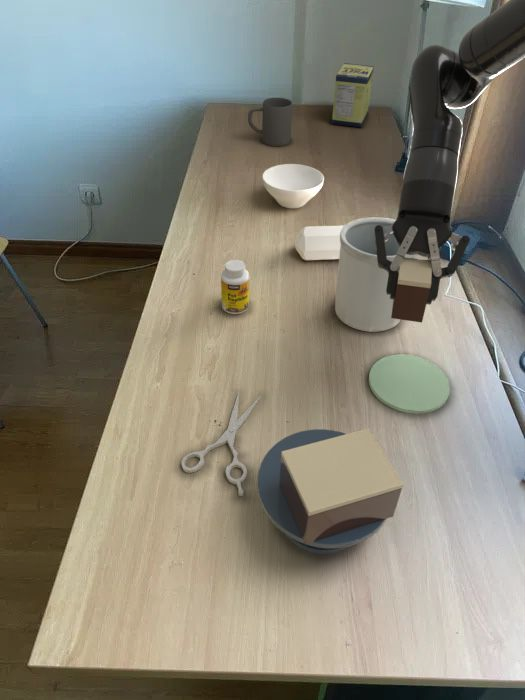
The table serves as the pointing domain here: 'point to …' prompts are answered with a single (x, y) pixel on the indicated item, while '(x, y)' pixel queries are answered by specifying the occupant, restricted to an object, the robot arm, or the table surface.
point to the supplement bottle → (235, 287)
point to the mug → (274, 121)
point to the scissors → (225, 438)
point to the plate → (409, 383)
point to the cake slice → (412, 289)
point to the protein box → (352, 94)
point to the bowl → (292, 184)
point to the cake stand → (328, 488)
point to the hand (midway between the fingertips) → (410, 300)
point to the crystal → (319, 242)
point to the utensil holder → (364, 277)
